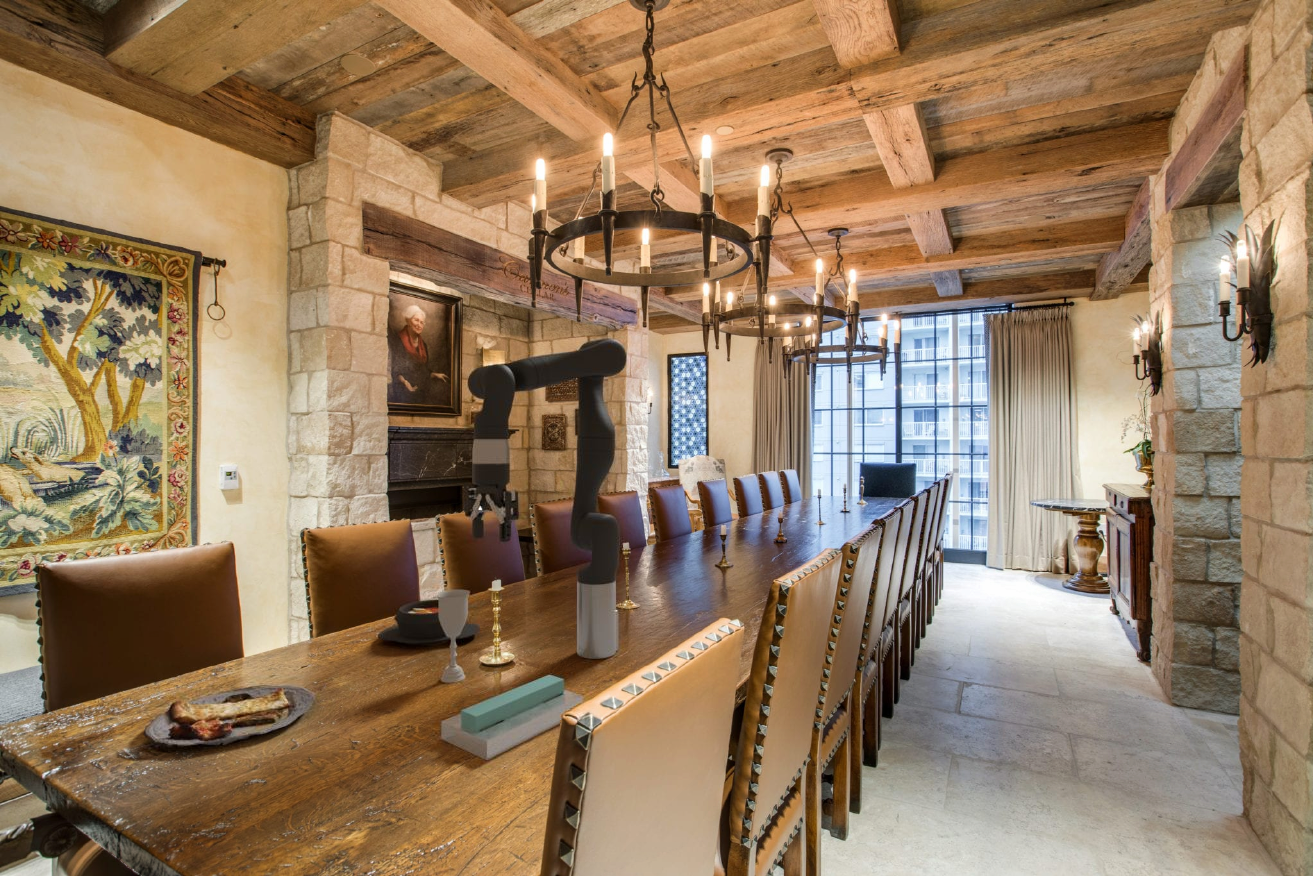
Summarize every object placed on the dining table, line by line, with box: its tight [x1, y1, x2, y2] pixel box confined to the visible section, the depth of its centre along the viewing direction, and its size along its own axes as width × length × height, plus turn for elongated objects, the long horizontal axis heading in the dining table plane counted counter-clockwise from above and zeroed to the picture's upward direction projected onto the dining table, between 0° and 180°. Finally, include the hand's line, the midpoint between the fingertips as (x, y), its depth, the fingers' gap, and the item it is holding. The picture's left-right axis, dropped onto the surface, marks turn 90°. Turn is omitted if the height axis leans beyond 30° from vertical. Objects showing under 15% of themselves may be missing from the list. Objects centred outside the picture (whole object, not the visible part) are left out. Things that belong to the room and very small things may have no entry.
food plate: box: [143, 684, 315, 748], centre depth 112 cm, size 25×23×4 cm
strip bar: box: [460, 674, 565, 732], centre depth 110 cm, size 20×4×5 cm, turn 143°
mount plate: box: [440, 689, 584, 761], centre depth 110 cm, size 22×12×3 cm, turn 144°
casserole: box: [377, 599, 481, 646], centre depth 160 cm, size 25×19×8 cm
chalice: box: [435, 589, 471, 684], centre depth 133 cm, size 7×7×18 cm
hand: (491, 539), depth 129 cm, fingers open, 8 cm apart
